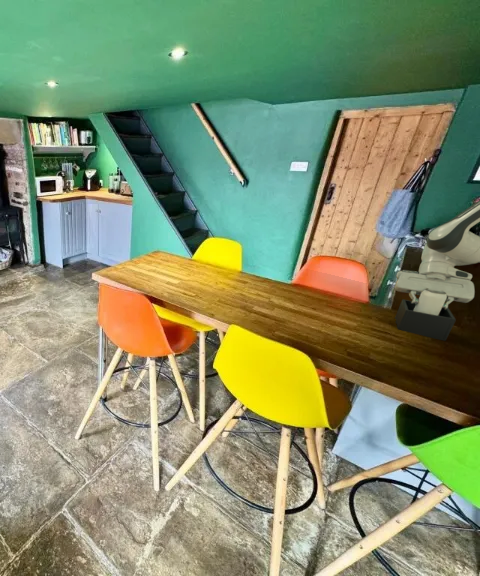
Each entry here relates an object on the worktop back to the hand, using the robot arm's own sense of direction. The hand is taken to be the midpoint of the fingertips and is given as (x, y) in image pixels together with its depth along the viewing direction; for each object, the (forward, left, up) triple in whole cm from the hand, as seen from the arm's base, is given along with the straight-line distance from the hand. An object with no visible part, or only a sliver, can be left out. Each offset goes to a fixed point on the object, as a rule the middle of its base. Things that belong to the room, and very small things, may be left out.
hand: (429, 305), depth 112 cm
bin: (0, -1, -10) cm, 10 cm away
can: (0, -1, -6) cm, 6 cm away
